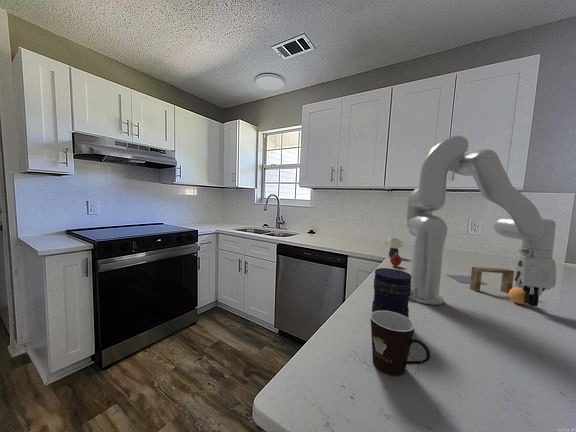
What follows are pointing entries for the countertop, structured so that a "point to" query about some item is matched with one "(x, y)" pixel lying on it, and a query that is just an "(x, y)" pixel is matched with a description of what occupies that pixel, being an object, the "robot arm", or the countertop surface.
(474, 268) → the bridge
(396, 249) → the character mug
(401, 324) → the coffee mug
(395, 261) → the onion
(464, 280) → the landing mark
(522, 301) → the ball
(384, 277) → the storage jar
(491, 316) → the countertop surface
